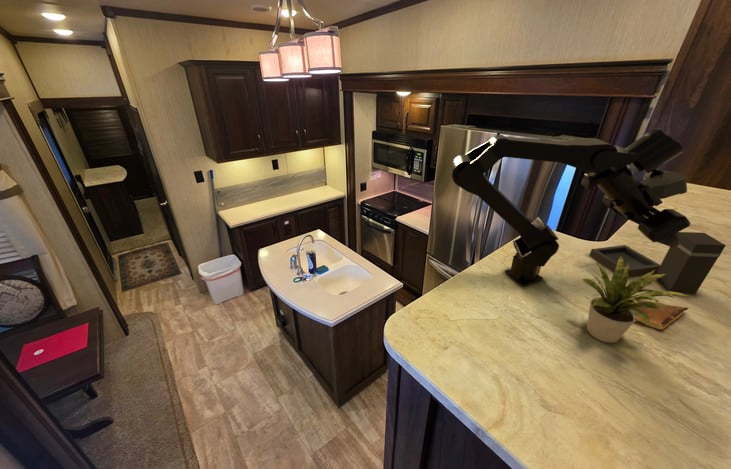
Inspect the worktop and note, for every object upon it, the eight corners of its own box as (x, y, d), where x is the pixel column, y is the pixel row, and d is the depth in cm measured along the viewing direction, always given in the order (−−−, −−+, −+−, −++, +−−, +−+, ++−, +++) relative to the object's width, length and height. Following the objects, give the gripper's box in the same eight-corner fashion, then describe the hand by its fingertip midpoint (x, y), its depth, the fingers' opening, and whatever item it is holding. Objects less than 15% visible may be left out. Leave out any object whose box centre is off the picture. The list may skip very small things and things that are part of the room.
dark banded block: (669, 292, 67) (696, 244, 60) (653, 277, 71) (677, 231, 65) (696, 294, 66) (726, 245, 59) (678, 278, 70) (704, 232, 64)
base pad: (622, 278, 72) (625, 270, 71) (589, 255, 81) (591, 248, 80) (659, 273, 73) (662, 266, 72) (622, 251, 82) (625, 244, 81)
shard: (685, 312, 61) (689, 306, 60) (705, 340, 55) (710, 333, 54) (621, 302, 65) (624, 296, 64) (634, 326, 59) (637, 320, 58)
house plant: (617, 380, 49) (658, 309, 41) (544, 325, 61) (565, 261, 53) (665, 348, 54) (709, 279, 46) (589, 303, 65) (614, 241, 57)
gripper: (703, 174, 49) (747, 234, 52) (636, 149, 64) (672, 195, 68) (631, 215, 54) (674, 267, 57) (585, 182, 70) (621, 224, 73)
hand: (660, 235), depth 63 cm, fingers open, 9 cm apart
